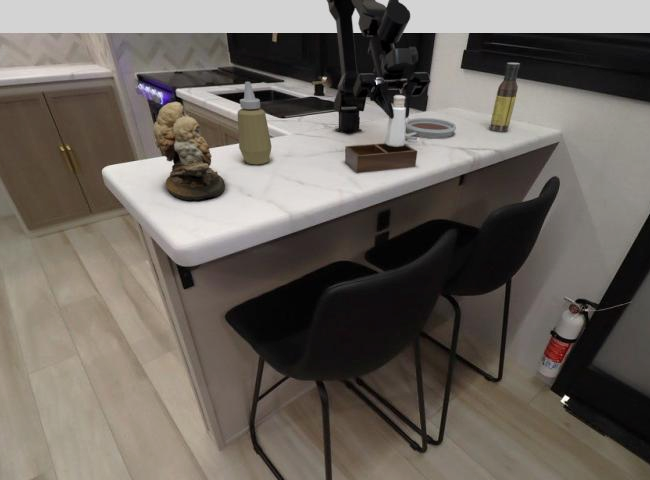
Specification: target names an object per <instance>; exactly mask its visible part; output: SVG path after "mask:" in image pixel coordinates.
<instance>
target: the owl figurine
mask: <svg viewBox="0 0 650 480" xmlns="http://www.w3.org/2000/svg"><path fill="white" fill-rule="evenodd" d="M156 118H157V119H156V121H155V122H154V124H153V130H152V132H153V133H152V134H153V135H154V139H155V145H156V147H157V149H158V148H159V151H160V152H161V154H162V155H163V156H164V157H165V158H166V161H167V162H171V163H172V162H173V164H172V166H171V171H170V172H169V176H167V178H166V180H165V186H166V190H167V191H168V193H169V194H170V195H171V196H173V197H175V198H176V199H177V198H178V199H180V200H185V201H192V200H194V201H199V200H202V199H207V198H214V197H218V196H220V195H222V194H224V191H225V189H226V184H225V180H224V179H223V177H222V176H221V175H220V174H219V173H218V171H215V170H214V169H212V168H211V167H210V166H211V164H212V154H211V150H210V146H209V144H208V143H207V141H206V140H205V137H203V136H202V131H201V126H200V124H199V122H198V121H197V120H196V119H195V118H194V117H191V116H189V114H187V113H186V108H185V107H184V105H183V104H182V102H179V101H173V102H168V103H166V104H165V105H163V106H162V107H161V108H160V109H159V111H158V115H157V117H156ZM195 177H196V178H195Z"/></svg>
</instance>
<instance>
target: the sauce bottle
mask: <svg viewBox="0 0 650 480" xmlns="http://www.w3.org/2000/svg"><path fill="white" fill-rule="evenodd" d="M520 66H521V62H520V63H519V62H507V63H506V65H505V74H504V76H503V80H502V82H501V83H500V84H499V86H498V88H497V92H496V95H495V100H494V106H493V110H492V115H491V120H490V126H489V129H490V130H491V131H493V132H497V133H504V132H507V131H508V130H509V126H510V123H511V120H512V117H513V112H514V107H515V103H516V100H517V93H518V90H519V89H518V88H519V87H518V83H517V78H518V72H519V70H520Z"/></svg>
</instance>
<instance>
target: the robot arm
mask: <svg viewBox="0 0 650 480" xmlns="http://www.w3.org/2000/svg"><path fill="white" fill-rule="evenodd" d="M326 2H327V6H328V11H329V14H330V15H331V16H332V18H333V19H334V22H335V25H336V34H337V43H338V45H337V46H338V52H339V63H340V73H341V77H340V79H339V83H338V85H337V93H336V95H335V98H334V100H333V110H334V111H336V112H337V113H338V127H337V128H335V129H334V130H335V131H336V132H339V133H342V134H346V135H352V134H357V133H360V132H362V131H363V129H361V128H360V125H361V124H360V123H361V122H360V121H361V117H360V112H364V111H365V108H366V107H365V106H366V101H367V97H368V96H369V91H370V93H371V95H370V97H369V101H371V102H373V103H375V104H376V105H377V106H378V107H379V108H381V110H382V111H383V112H384V113H385V114H386V116H388V118H389V117H390V118H391V119H393V118H394V112H393V108H392V107H393V104H392V101H391V97H390V93H389V92H390V91H397V90H398V91H399V95H402V96H405V100H404V101H405V103H404V107H405V108H406V119H408V118H409V116H410V107H411V97H420V96H422V95H423V93H424V92H425V90H426V89H427V88H428V87H429V85H430V84H431V82H432V80H431V77H430V74H429V73H428V72H427V71H426V72H425V71H423V72H422V71H416V72H415V71H414V72H413V73H412V74H411V76H410V78H409V79H408V78H403V76H405V75H406V74H407V68H409V67H411V66H412V65H414V64H417V62H418V61H419V52H418V49H417V47H416V46H409V47H408V48H405V47H404V48H403V47H402V48H401V47H400V48H395V45H394V44H396V43H398V42H399V41H400V40H401V38H402V35H403V34H404V32H405V29H406V27H407V26H408V24H409V22H410V20H411V12H410V10H409V9H408V8H407V6H405V5H404V4H403V3H401V2H400V1H399V0H388V2H387V4H386V5H385V4H383V3H381V2H378V1H376V0H326ZM355 10H356V12H357V14H358V16H359V17H358V26H359V30H360V33H361V35H362V36H363V37H371V38H370V40H369V42H368V43H369V44H368V49H367V55H368V56H369V55H370V56H371V57H372V61H373V64H374V68H373V70H372V73H371V72H369V73H368V72H367V73H364V72H363V73H359V72H358V68H357V67H358V66H357V57H356V56H357V55H356V44H355V34H354V24H353V16H354V12H355Z"/></svg>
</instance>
